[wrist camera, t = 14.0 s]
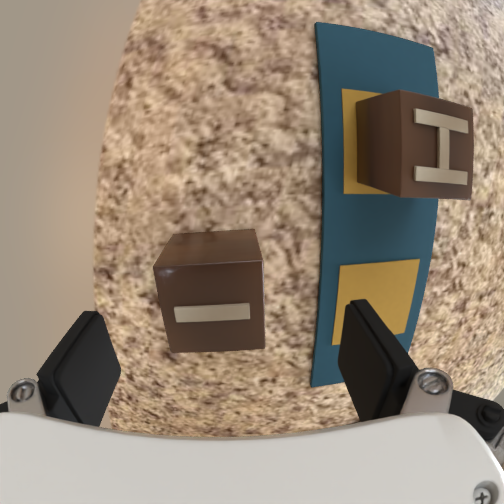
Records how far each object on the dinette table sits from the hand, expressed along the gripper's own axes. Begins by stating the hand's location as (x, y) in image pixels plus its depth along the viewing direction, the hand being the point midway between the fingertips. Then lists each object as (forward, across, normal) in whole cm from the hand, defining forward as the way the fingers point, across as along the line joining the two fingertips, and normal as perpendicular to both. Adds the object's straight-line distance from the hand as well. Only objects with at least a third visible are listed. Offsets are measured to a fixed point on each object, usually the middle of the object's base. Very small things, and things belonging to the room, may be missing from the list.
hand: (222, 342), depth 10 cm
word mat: (+7, -9, -2) cm, 12 cm away
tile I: (+7, +1, 0) cm, 7 cm away
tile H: (+6, -10, -7) cm, 13 cm away
